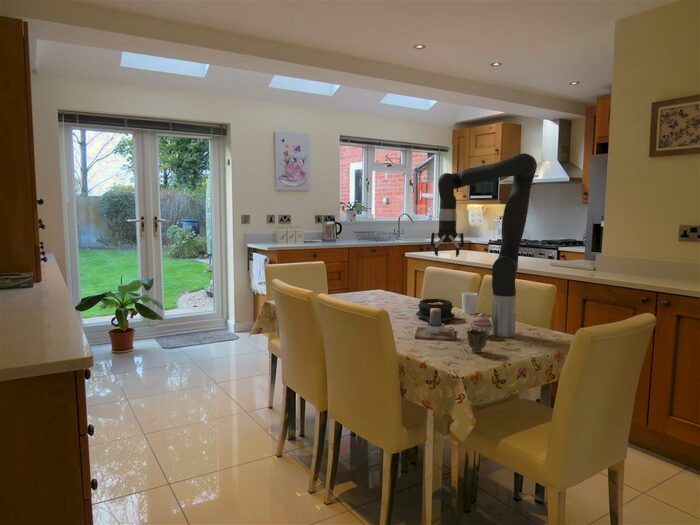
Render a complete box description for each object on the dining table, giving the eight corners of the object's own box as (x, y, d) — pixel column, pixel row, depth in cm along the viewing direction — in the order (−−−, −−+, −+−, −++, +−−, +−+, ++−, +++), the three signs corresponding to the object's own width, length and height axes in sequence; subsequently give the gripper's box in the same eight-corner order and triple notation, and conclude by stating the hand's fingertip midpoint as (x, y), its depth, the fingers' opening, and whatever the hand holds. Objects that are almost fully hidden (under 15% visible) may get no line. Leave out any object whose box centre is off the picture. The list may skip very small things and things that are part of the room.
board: (454, 331, 211) (454, 328, 211) (454, 340, 195) (454, 338, 195) (417, 329, 214) (417, 326, 214) (414, 338, 198) (414, 336, 198)
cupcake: (482, 340, 196) (483, 316, 195) (465, 335, 204) (465, 312, 203) (497, 336, 201) (498, 313, 200) (480, 332, 209) (480, 309, 208)
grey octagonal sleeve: (444, 330, 207) (444, 322, 207) (444, 335, 200) (444, 327, 200) (426, 329, 209) (426, 321, 209) (425, 334, 202) (425, 326, 201)
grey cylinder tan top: (439, 331, 206) (440, 308, 205) (440, 334, 202) (441, 310, 201) (429, 330, 207) (430, 307, 206) (429, 333, 203) (430, 310, 201)
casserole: (462, 324, 223) (462, 306, 222) (422, 325, 222) (423, 307, 221) (446, 312, 248) (446, 296, 247) (410, 313, 246) (411, 297, 245)
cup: (464, 353, 178) (464, 332, 177) (469, 348, 185) (469, 328, 184) (484, 356, 175) (485, 335, 174) (488, 351, 181) (489, 330, 180)
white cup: (458, 312, 248) (458, 293, 247) (470, 310, 252) (471, 291, 250) (468, 315, 241) (468, 295, 240) (480, 313, 244) (481, 294, 243)
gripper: (430, 219, 210) (430, 256, 211) (464, 219, 207) (463, 257, 209) (431, 219, 217) (430, 255, 219) (464, 219, 214) (463, 255, 216)
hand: (446, 256), depth 214 cm, fingers open, 8 cm apart
